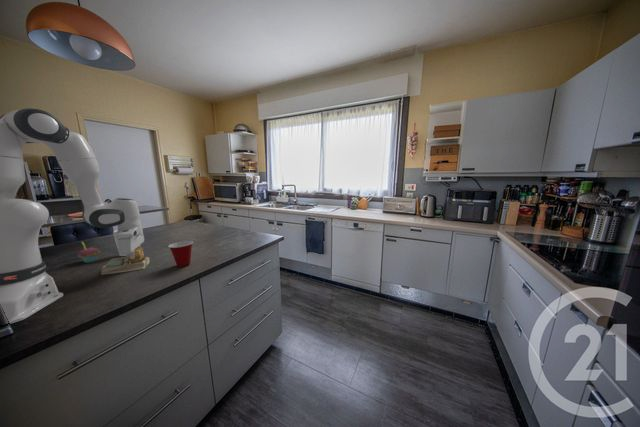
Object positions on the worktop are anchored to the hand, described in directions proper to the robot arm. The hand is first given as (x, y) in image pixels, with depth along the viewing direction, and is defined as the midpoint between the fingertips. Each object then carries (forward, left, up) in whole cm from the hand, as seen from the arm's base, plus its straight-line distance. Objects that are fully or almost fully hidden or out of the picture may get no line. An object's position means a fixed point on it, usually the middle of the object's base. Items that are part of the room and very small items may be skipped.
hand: (135, 256), depth 107 cm
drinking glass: (+22, +12, -6) cm, 25 cm away
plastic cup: (-7, -21, -6) cm, 23 cm away
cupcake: (+19, +26, -6) cm, 32 cm away
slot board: (0, +4, -6) cm, 7 cm away
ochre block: (0, 0, -2) cm, 2 cm away
